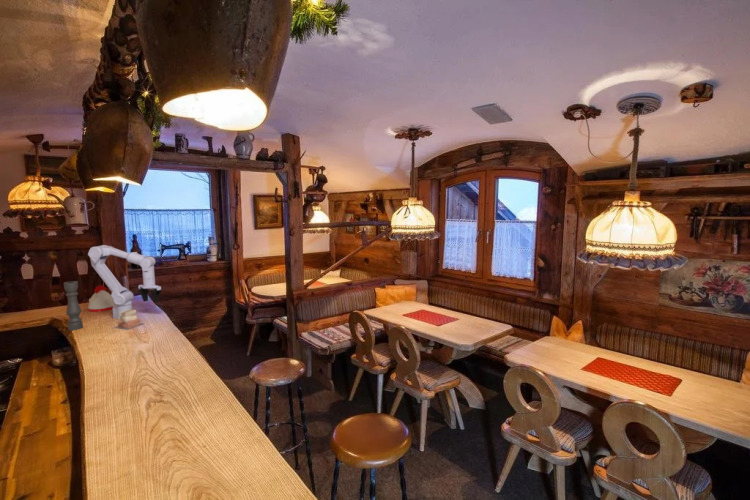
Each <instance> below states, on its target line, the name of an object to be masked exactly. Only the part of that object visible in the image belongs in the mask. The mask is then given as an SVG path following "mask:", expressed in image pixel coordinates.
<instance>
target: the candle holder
mask: <svg viewBox="0 0 750 500" xmlns="http://www.w3.org/2000/svg"><path fill="white" fill-rule="evenodd" d="M63 288H64V291H65V292H66V293H65V296H66V298H67V306H66V315H67V316H68V320H67V331H70V332H74V331H73V330H75V331H77V330H80V329H83V328H84V325H83V320H82V318H81V317H80V316H81V312H82V308H81V307H80V304H79V301H78V297H77V296H78V295H79V292H78V289H79V282H78V280H75V281H74V280H73V281H72V280H71V281H65V282H63Z"/></svg>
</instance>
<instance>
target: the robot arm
mask: <svg viewBox="0 0 750 500" xmlns="http://www.w3.org/2000/svg"><path fill="white" fill-rule="evenodd" d="M87 256H89V259H90V264H91V267H92V268H93V270H94V271H95V272H96V274H98V276H99V277H100V278H101V279H102V281H103V282H104V283H105V285H106V286H107V287H108V289H109V290H110V291H111V294H110V295H111V296H112V298H113V301H114V303H115V305H114V306H113V309H112V317H113V319H118V320H120V312H123V311H126V310H130V309H133V303H132V302H133V299H134V293H133V292H132V291H131V290H129V289H128V288H127V287H125V286H122V285H121V282H119V281H118V279H117V278H116V277H115V275H114V274H113V273H112V271H111V269H109V267H108V266H107V265H106V261H107V258H108V257H109V256H115V257H118V258H122V259H126V260H127V262H128V263H131V264H135V265H138V266H140V267H141V269H142V282H143V283H142V284H139V285H138V290H137V291H138V293H139V294H140V296H141V298H142V300H143V302H148V300H149V290H150V294H151V295H152V300H153V301H152V302H153V303H154V304H155V303H158V302H159V298H160V294H161V292H163V289H162V286H160V285H156V277H155V265H156V259H155V258H154V257H153V256H147V255H146V254H143V255H142V254H140V253H138V252H136V251H133V252H127V251H124V250H121V249H118V248H115V247H114V246H112V245H106V244H102V245H98V246H92V247H90V249H89V250H88V253H87Z"/></svg>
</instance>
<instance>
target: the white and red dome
mask: <svg viewBox="0 0 750 500" xmlns="http://www.w3.org/2000/svg"><path fill="white" fill-rule="evenodd" d="M93 291H94V293H93V294H92V295H91V297H89V299H88V302H89V303H88V306H87V308H88V312H91V313H97V312H98V313H99V312H106V311H110V310H113V306H114V305H115V303H114V301H113V298H112V296H111V294H110V293H109V292H108V291H107V287H105V286H103V285H102V284H100V285H98V286H95V288H94V289H93Z"/></svg>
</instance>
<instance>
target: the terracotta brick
mask: <svg viewBox="0 0 750 500" xmlns="http://www.w3.org/2000/svg"><path fill="white" fill-rule="evenodd" d="M140 323H141V319H140V318H137V319H135V320H132V321H129V322H120V320H118V321H117V326H118V327H120V328H127V329H128V328H131V327H134V326H137V325H140Z"/></svg>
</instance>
